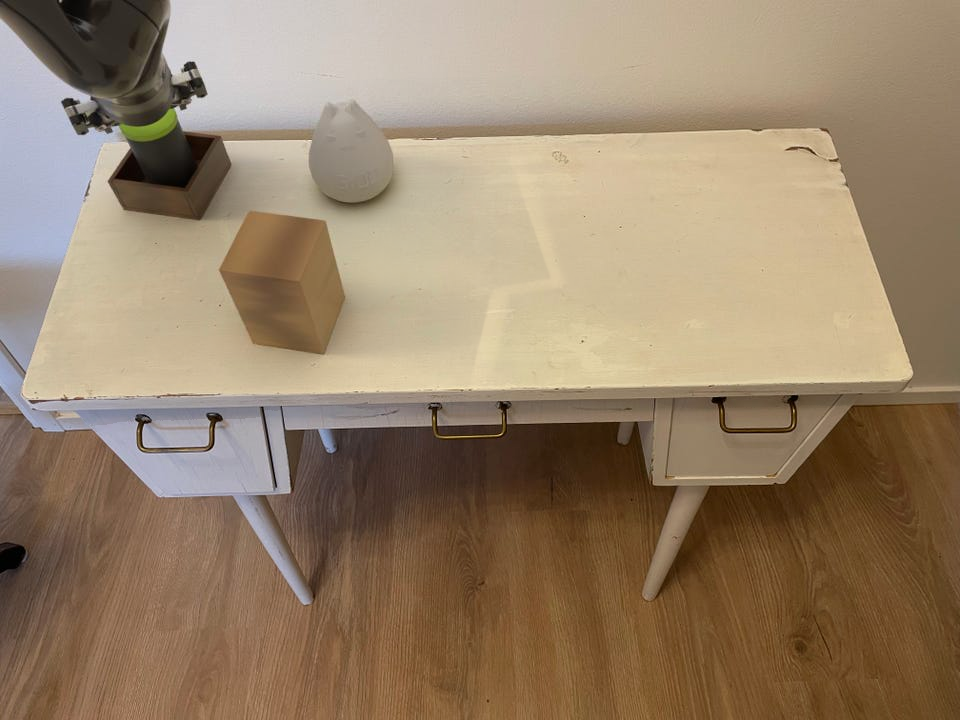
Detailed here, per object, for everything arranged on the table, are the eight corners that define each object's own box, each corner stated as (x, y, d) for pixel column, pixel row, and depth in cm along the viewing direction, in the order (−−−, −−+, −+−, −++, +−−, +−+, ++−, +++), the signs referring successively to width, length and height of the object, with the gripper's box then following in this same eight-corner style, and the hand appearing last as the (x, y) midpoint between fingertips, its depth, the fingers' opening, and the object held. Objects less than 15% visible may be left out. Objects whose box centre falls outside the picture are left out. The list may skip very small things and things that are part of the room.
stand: (252, 343, 78) (218, 269, 68) (277, 287, 82) (249, 210, 73) (323, 354, 77) (299, 281, 67) (345, 296, 82) (325, 220, 72)
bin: (123, 209, 90) (106, 181, 86) (158, 155, 95) (144, 126, 91) (200, 220, 88) (187, 191, 85) (231, 164, 94) (221, 135, 90)
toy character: (318, 218, 88) (296, 139, 79) (311, 161, 94) (291, 80, 84) (402, 206, 90) (391, 125, 80) (390, 150, 95) (379, 69, 85)
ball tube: (142, 197, 90) (108, 133, 82) (164, 163, 93) (133, 98, 85) (191, 204, 89) (161, 139, 81) (211, 169, 93) (184, 104, 85)
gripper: (184, 16, 70) (189, 62, 85) (30, 59, 66) (64, 99, 81) (218, 94, 71) (217, 125, 87) (70, 140, 68) (96, 164, 83)
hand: (143, 112), depth 84 cm, fingers open, 8 cm apart
